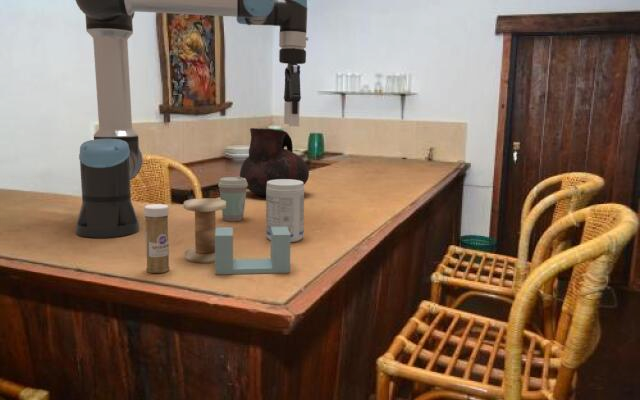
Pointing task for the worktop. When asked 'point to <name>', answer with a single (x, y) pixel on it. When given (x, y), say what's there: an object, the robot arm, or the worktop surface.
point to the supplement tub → (285, 207)
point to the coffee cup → (233, 197)
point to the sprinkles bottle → (157, 238)
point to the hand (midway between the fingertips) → (291, 125)
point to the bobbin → (203, 228)
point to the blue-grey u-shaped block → (252, 266)
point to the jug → (271, 160)
